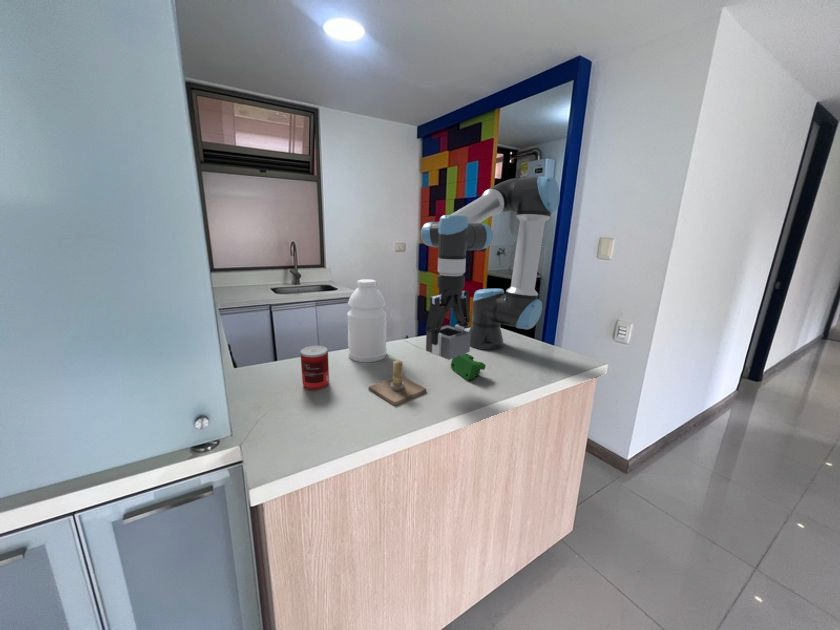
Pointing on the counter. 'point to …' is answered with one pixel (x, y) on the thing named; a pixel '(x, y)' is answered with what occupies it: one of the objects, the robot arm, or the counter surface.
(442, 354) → the ring
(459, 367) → the clamp
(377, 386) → the post
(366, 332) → the bottle
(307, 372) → the canned food
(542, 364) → the counter surface
